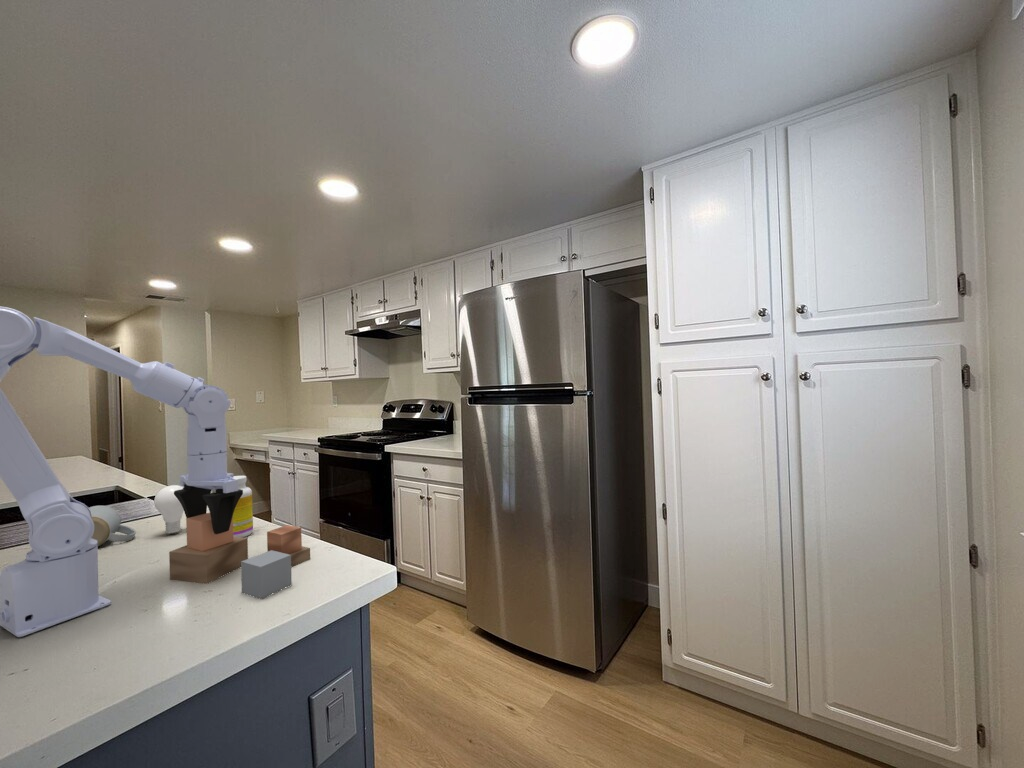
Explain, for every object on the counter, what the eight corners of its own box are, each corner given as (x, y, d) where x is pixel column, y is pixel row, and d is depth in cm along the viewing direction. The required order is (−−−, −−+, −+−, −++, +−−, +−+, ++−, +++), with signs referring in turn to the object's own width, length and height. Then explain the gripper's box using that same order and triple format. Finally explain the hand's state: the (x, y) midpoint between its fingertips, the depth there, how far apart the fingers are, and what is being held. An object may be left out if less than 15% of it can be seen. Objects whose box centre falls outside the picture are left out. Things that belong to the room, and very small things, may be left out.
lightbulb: (160, 532, 97) (159, 484, 97) (194, 527, 100) (192, 481, 100) (150, 541, 91) (149, 490, 91) (186, 535, 94) (185, 486, 94)
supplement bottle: (260, 530, 96) (258, 474, 96) (238, 541, 89) (237, 480, 90) (232, 530, 97) (231, 474, 97) (209, 541, 90) (208, 481, 90)
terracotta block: (202, 551, 72) (201, 521, 72) (187, 547, 74) (186, 518, 74) (233, 541, 76) (232, 513, 76) (217, 537, 78) (217, 510, 78)
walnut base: (207, 585, 70) (206, 555, 70) (169, 581, 72) (169, 551, 72) (248, 565, 78) (247, 538, 78) (213, 561, 80) (212, 535, 80)
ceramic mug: (60, 556, 84) (61, 517, 84) (74, 543, 91) (74, 507, 91) (131, 544, 90) (131, 508, 90) (138, 534, 97) (139, 500, 97)
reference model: (280, 571, 74) (279, 537, 74) (259, 565, 77) (258, 532, 77) (310, 558, 79) (309, 526, 79) (289, 553, 82) (288, 522, 82)
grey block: (261, 599, 64) (260, 567, 64) (241, 593, 66) (241, 561, 66) (291, 585, 69) (290, 554, 69) (272, 579, 71) (271, 550, 71)
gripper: (255, 451, 75) (256, 527, 75) (208, 447, 82) (210, 518, 82) (212, 457, 69) (214, 541, 69) (165, 453, 75) (167, 529, 75)
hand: (209, 529), depth 75 cm, fingers open, 7 cm apart
